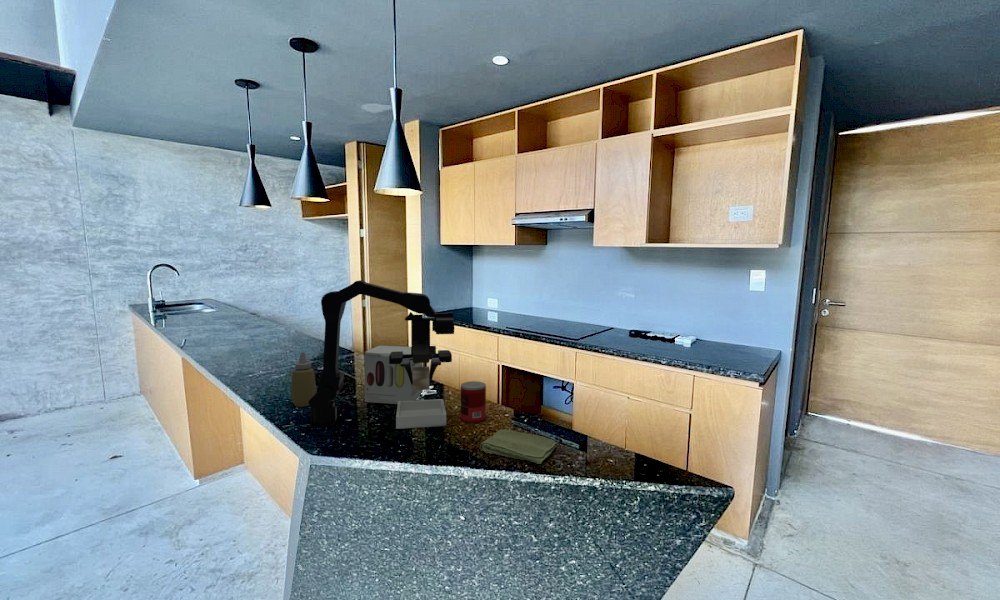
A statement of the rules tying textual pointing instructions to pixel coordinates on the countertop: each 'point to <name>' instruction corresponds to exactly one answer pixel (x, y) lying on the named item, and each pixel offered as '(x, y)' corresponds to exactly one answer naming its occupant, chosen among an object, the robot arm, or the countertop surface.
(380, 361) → the supplement box
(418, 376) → the ash block
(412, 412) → the grey bin
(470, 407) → the canned food
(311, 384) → the squeeze bottle
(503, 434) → the washcloth
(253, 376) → the countertop surface
